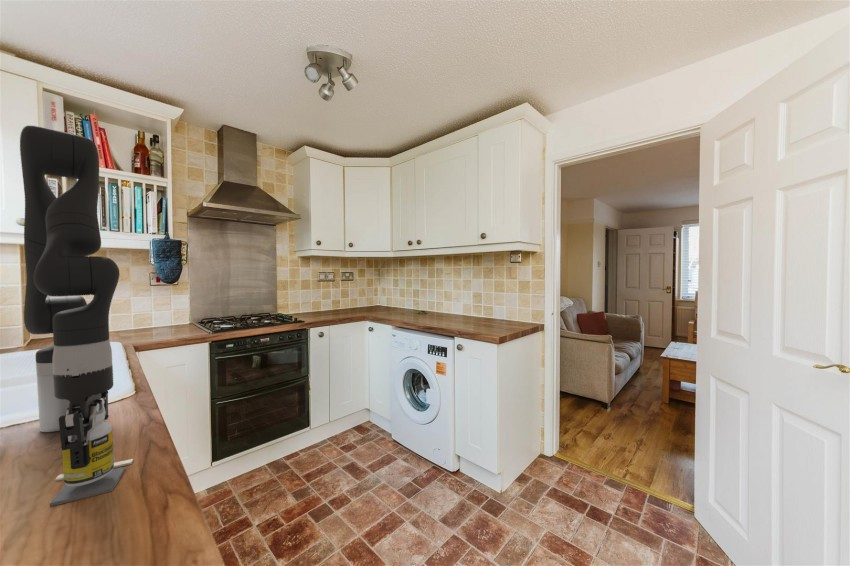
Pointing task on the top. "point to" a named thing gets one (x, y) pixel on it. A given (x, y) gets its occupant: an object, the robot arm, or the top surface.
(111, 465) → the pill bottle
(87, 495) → the mat
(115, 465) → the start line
